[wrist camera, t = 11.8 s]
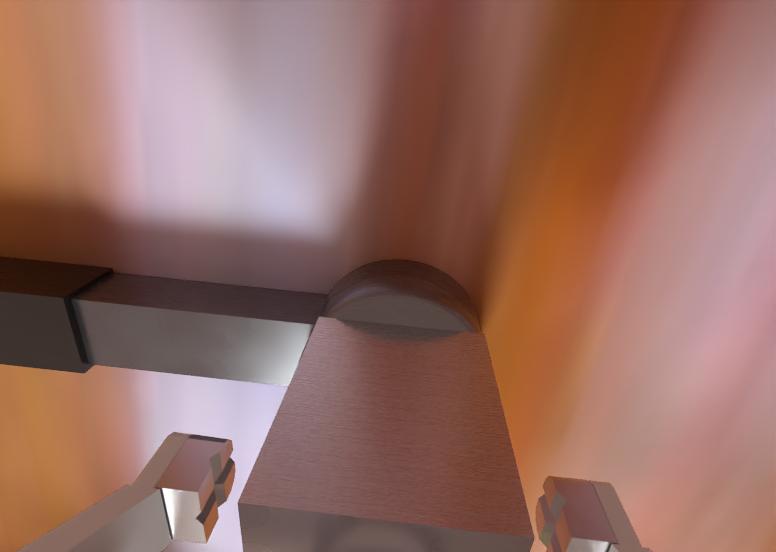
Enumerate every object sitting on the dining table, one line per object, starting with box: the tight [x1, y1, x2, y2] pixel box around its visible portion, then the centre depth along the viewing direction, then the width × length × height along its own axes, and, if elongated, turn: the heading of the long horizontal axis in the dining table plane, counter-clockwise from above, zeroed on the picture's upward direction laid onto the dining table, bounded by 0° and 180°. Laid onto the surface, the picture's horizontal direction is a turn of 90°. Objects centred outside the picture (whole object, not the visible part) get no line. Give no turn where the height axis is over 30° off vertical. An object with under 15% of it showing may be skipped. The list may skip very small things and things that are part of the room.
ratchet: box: [0, 257, 481, 386], centre depth 14 cm, size 21×6×8 cm, turn 86°
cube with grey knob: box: [238, 317, 534, 552], centre depth 10 cm, size 5×5×7 cm
